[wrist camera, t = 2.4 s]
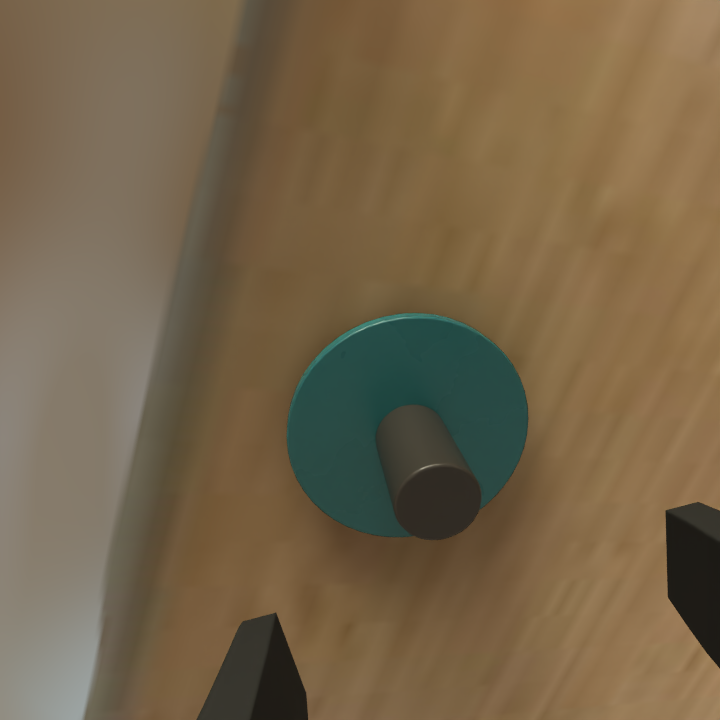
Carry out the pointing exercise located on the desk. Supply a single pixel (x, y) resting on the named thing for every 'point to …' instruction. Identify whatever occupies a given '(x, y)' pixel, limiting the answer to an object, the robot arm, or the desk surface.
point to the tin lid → (407, 426)
